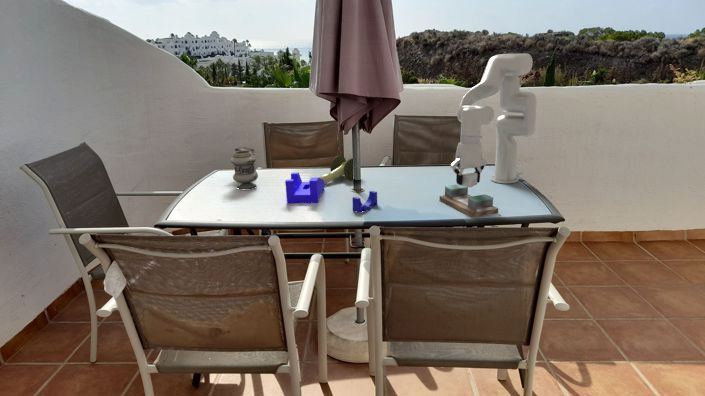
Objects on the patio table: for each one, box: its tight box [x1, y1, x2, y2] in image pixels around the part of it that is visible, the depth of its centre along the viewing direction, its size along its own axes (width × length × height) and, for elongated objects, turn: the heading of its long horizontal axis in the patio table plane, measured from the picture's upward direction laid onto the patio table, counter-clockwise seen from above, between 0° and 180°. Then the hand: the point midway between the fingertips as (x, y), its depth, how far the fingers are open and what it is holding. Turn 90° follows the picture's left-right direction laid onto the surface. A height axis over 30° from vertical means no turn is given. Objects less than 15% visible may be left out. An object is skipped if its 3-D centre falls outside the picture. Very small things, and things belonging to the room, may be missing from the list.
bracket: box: [284, 171, 325, 204], centre depth 212 cm, size 21×14×10 cm, turn 176°
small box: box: [459, 171, 478, 188], centre depth 188 cm, size 6×6×5 cm
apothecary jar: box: [230, 150, 259, 190], centre depth 228 cm, size 12×12×18 cm
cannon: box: [318, 155, 354, 185], centre depth 235 cm, size 25×12×11 cm, turn 134°
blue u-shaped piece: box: [351, 190, 378, 213], centre depth 193 cm, size 12×4×6 cm, turn 137°
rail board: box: [439, 183, 499, 219], centre depth 191 cm, size 12×24×6 cm, turn 21°
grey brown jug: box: [234, 146, 257, 172], centre depth 245 cm, size 9×6×16 cm
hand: (468, 182), depth 188 cm, fingers closed on small box, 7 cm apart
